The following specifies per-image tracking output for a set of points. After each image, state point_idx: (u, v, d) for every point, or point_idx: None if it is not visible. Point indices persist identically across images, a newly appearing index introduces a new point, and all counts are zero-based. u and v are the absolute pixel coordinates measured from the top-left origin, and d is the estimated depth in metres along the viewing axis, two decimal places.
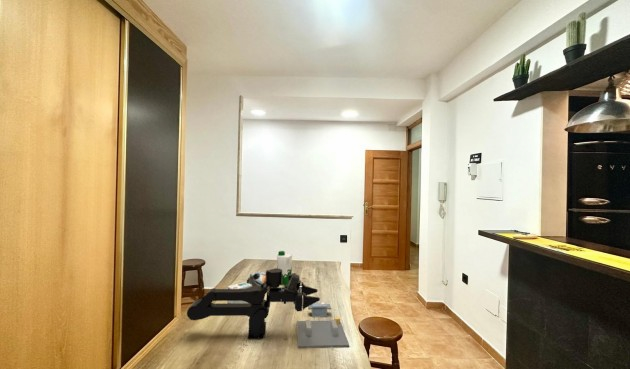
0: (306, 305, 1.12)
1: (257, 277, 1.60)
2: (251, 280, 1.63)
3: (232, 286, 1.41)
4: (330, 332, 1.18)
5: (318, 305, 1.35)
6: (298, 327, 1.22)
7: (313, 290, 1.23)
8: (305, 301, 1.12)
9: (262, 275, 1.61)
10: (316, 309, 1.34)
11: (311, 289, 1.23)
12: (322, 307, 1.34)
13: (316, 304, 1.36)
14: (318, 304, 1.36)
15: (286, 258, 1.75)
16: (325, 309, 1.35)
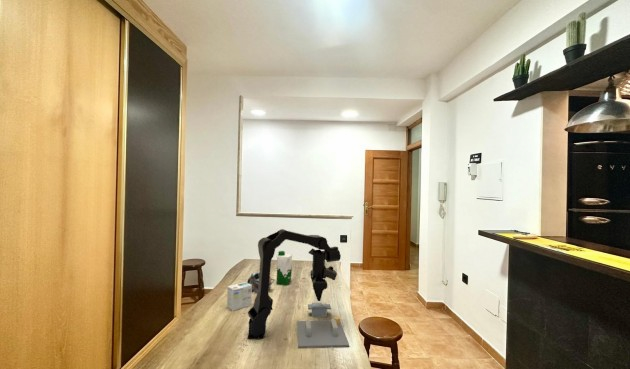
0: (315, 290, 1.23)
1: (258, 277, 1.60)
2: (252, 280, 1.63)
3: (232, 286, 1.41)
4: (330, 332, 1.18)
5: (318, 305, 1.35)
6: (298, 327, 1.22)
7: None
8: None
9: None
10: (316, 309, 1.34)
11: None
12: (322, 307, 1.34)
13: (316, 304, 1.36)
14: (318, 304, 1.36)
15: (286, 258, 1.75)
16: (325, 309, 1.35)
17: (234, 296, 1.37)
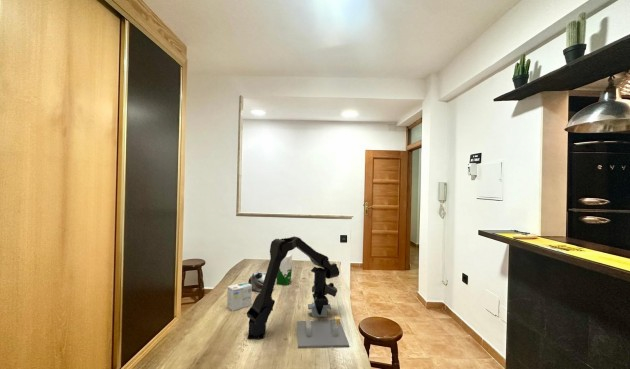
0: (316, 304, 1.32)
1: (260, 276, 1.61)
2: (253, 280, 1.64)
3: (232, 286, 1.41)
4: (330, 332, 1.18)
5: None
6: (298, 327, 1.22)
7: None
8: None
9: (265, 274, 1.63)
10: (316, 309, 1.34)
11: None
12: None
13: None
14: None
15: (286, 258, 1.75)
16: (325, 309, 1.35)
17: (234, 296, 1.37)
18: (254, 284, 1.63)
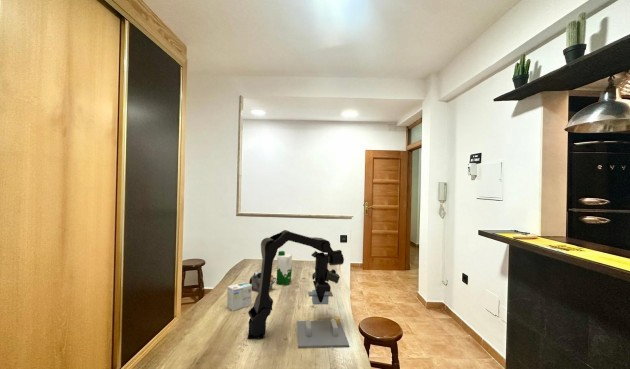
0: (317, 291, 1.24)
1: None
2: (254, 279, 1.64)
3: (232, 286, 1.41)
4: (330, 332, 1.18)
5: None
6: (298, 327, 1.22)
7: None
8: None
9: None
10: (317, 296, 1.26)
11: None
12: None
13: None
14: None
15: (286, 258, 1.75)
16: (327, 296, 1.27)
17: (234, 296, 1.37)
18: (255, 284, 1.64)
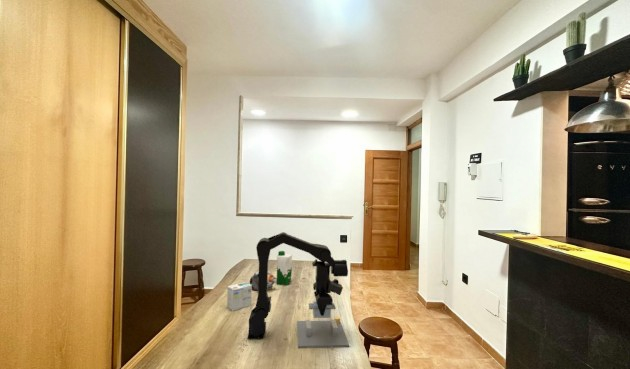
0: None
1: None
2: (255, 279, 1.64)
3: (232, 286, 1.41)
4: (330, 332, 1.18)
5: None
6: (298, 327, 1.22)
7: None
8: None
9: None
10: (318, 309, 1.16)
11: None
12: None
13: None
14: None
15: (286, 258, 1.75)
16: (329, 309, 1.17)
17: (234, 296, 1.37)
18: (256, 284, 1.64)
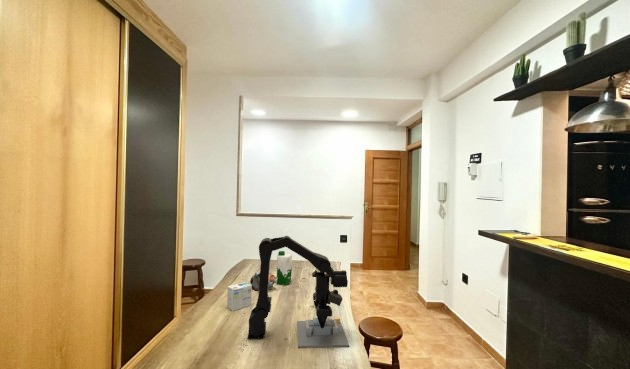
0: (318, 316, 1.13)
1: None
2: (256, 279, 1.65)
3: (232, 286, 1.41)
4: (330, 332, 1.18)
5: None
6: (298, 327, 1.22)
7: None
8: None
9: None
10: (318, 326, 1.16)
11: None
12: (325, 323, 1.16)
13: None
14: None
15: (286, 258, 1.75)
16: (328, 326, 1.17)
17: (234, 296, 1.37)
18: (257, 283, 1.64)
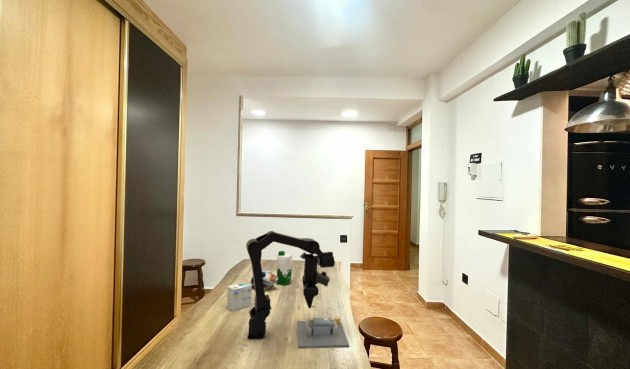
0: (306, 296, 1.17)
1: (263, 275, 1.63)
2: None
3: (232, 286, 1.41)
4: (330, 332, 1.18)
5: (320, 321, 1.17)
6: (298, 327, 1.22)
7: None
8: None
9: (268, 273, 1.65)
10: (318, 326, 1.16)
11: None
12: (325, 323, 1.16)
13: (318, 320, 1.18)
14: (320, 320, 1.18)
15: (286, 258, 1.75)
16: (328, 326, 1.17)
17: (234, 296, 1.37)
18: None
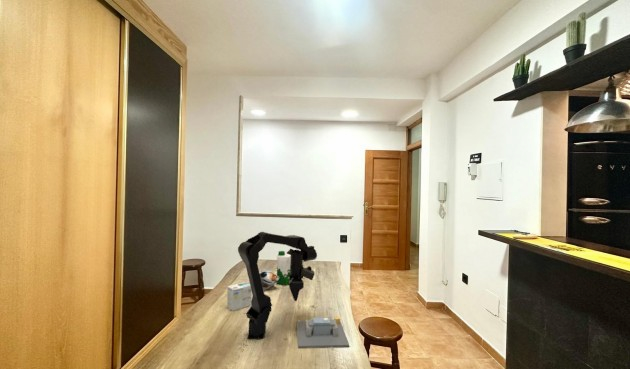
0: (292, 290, 1.23)
1: (264, 275, 1.63)
2: None
3: (232, 286, 1.41)
4: (330, 332, 1.18)
5: (320, 321, 1.17)
6: (298, 327, 1.22)
7: None
8: None
9: (269, 273, 1.65)
10: (318, 326, 1.16)
11: None
12: (325, 323, 1.16)
13: (318, 320, 1.18)
14: (320, 320, 1.18)
15: (286, 258, 1.75)
16: (328, 326, 1.17)
17: (234, 296, 1.37)
18: None
